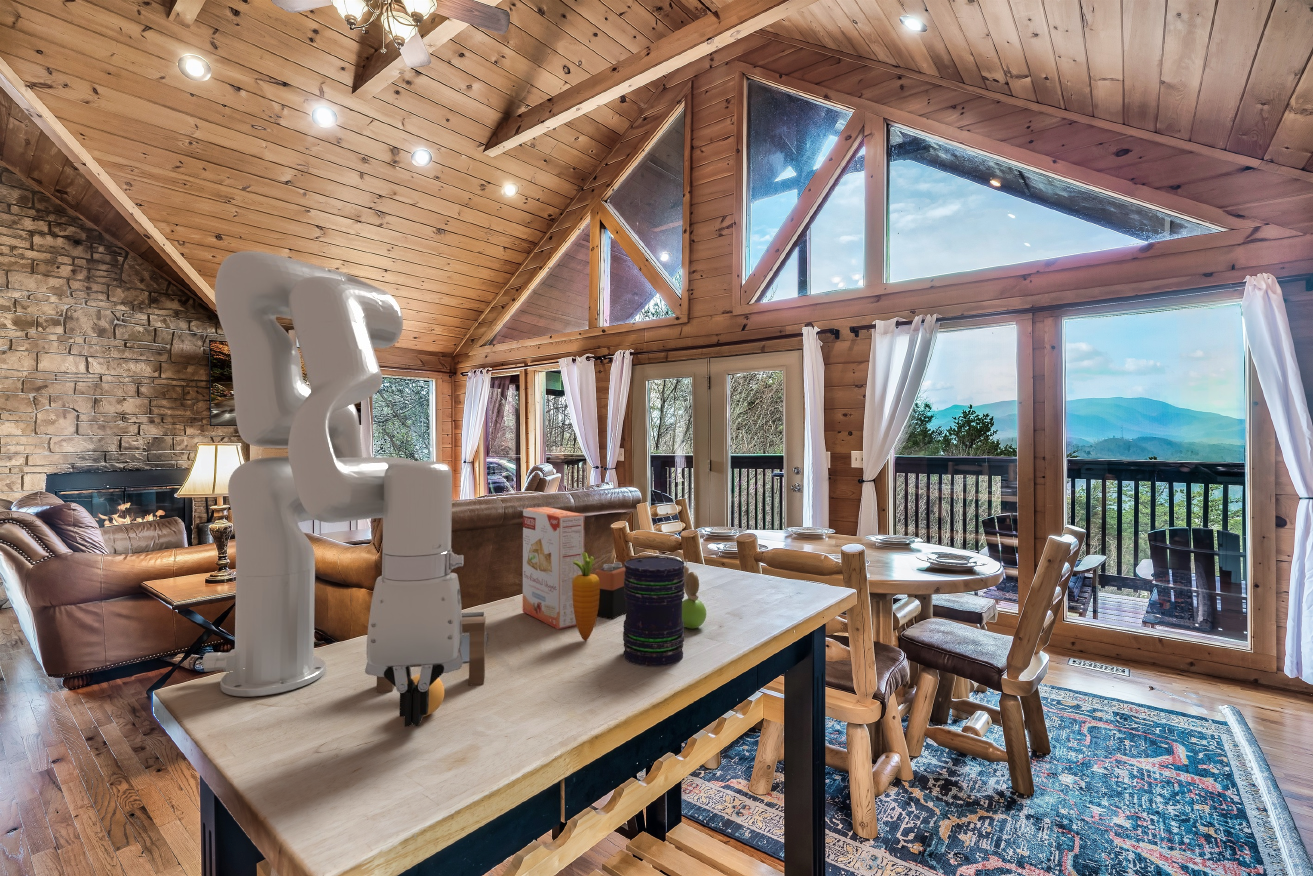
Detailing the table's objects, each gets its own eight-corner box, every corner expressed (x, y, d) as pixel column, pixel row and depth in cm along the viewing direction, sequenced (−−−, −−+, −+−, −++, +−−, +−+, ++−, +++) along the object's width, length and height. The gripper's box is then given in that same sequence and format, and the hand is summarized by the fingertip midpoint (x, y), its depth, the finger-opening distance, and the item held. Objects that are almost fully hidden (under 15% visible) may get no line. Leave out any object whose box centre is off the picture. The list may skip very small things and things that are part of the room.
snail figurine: (696, 620, 115) (697, 558, 116) (711, 630, 110) (712, 565, 110) (670, 623, 114) (671, 560, 114) (684, 633, 108) (684, 567, 108)
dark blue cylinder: (695, 653, 98) (696, 561, 98) (662, 672, 90) (663, 572, 90) (645, 641, 103) (646, 554, 104) (610, 657, 95) (611, 563, 95)
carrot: (594, 646, 100) (595, 557, 100) (566, 644, 101) (567, 555, 101) (603, 637, 105) (604, 551, 105) (576, 635, 106) (577, 550, 106)
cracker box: (520, 613, 119) (521, 508, 119) (546, 607, 123) (548, 506, 123) (556, 630, 108) (558, 515, 108) (584, 624, 112) (586, 513, 112)
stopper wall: (418, 632, 106) (419, 618, 106) (420, 628, 108) (420, 615, 108) (483, 628, 109) (483, 615, 109) (483, 625, 111) (483, 611, 111)
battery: (593, 616, 117) (594, 565, 117) (612, 608, 123) (613, 559, 123) (612, 620, 115) (612, 568, 115) (630, 611, 121) (631, 562, 121)
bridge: (483, 684, 84) (484, 622, 84) (376, 692, 81) (377, 628, 81) (484, 676, 87) (485, 616, 87) (381, 683, 84) (382, 621, 84)
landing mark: (393, 667, 90) (394, 666, 90) (409, 639, 103) (409, 638, 103) (483, 661, 93) (483, 660, 93) (487, 634, 106) (487, 633, 106)
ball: (401, 668, 74) (408, 681, 78) (394, 711, 71) (402, 722, 75) (444, 666, 75) (448, 679, 79) (439, 708, 72) (444, 720, 76)
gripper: (485, 558, 76) (482, 703, 76) (357, 560, 73) (354, 711, 73) (480, 571, 68) (477, 731, 69) (338, 575, 65) (334, 742, 65)
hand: (414, 721), depth 71 cm, fingers closed
